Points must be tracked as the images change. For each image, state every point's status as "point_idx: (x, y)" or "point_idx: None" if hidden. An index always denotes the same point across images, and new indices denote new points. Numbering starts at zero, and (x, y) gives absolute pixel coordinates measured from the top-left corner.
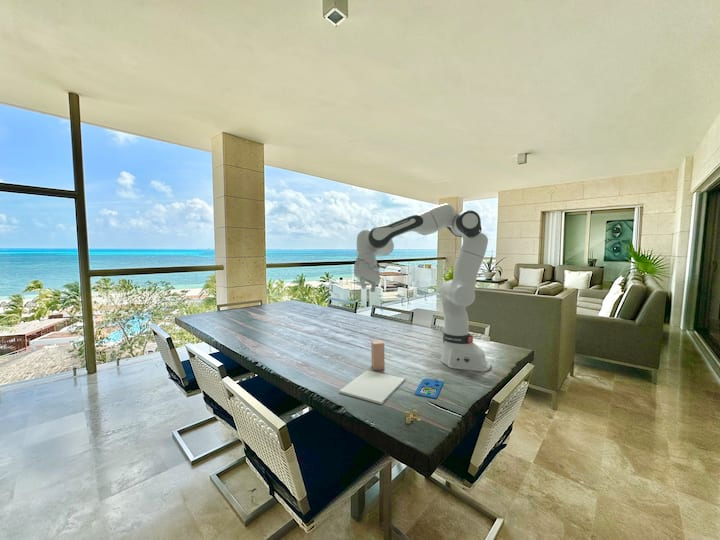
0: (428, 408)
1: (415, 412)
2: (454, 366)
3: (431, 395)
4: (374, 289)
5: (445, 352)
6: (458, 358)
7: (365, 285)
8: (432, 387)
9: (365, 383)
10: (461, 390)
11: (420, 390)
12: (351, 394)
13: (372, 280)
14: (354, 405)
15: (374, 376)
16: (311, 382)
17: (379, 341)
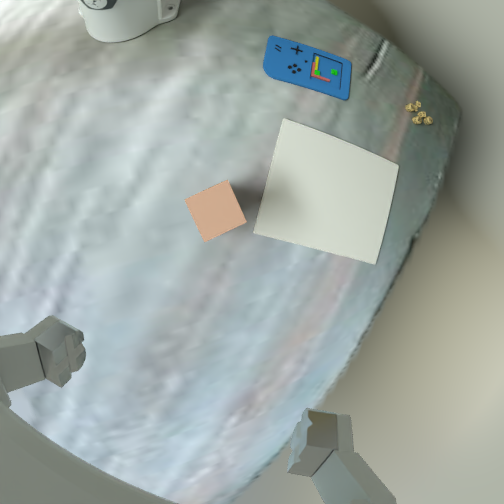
0: (384, 82)
1: (414, 106)
2: (177, 7)
3: (345, 68)
4: (51, 332)
5: (138, 12)
6: None
7: (327, 431)
8: (310, 60)
9: (335, 215)
10: (299, 13)
11: (329, 86)
12: (383, 233)
13: (47, 439)
14: (407, 217)
15: (291, 201)
16: (337, 341)
17: (206, 205)
